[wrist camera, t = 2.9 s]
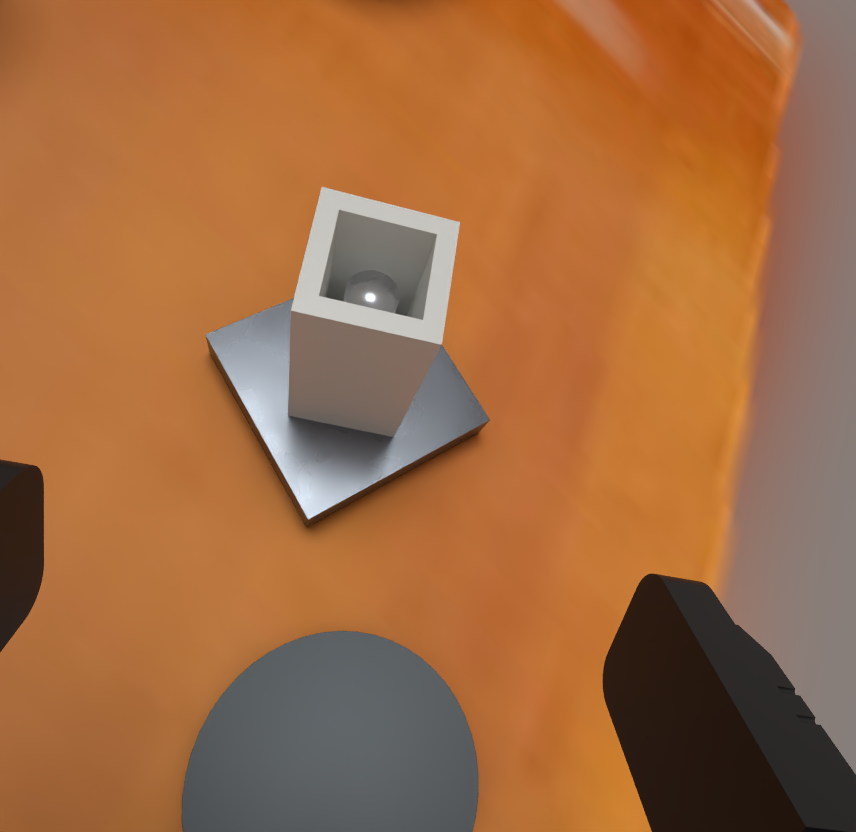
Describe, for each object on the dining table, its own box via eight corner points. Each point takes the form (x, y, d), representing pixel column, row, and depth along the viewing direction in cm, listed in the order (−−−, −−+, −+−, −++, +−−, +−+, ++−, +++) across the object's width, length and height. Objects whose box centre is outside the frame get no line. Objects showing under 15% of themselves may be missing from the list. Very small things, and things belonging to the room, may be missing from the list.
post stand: (306, 527, 30) (317, 472, 21) (209, 352, 32) (181, 233, 23) (478, 432, 34) (551, 350, 25) (381, 279, 36) (416, 150, 27)
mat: (272, 1039, 24) (272, 1047, 23) (131, 736, 26) (128, 738, 26) (526, 826, 28) (531, 829, 28) (386, 580, 30) (388, 579, 30)
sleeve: (393, 437, 31) (441, 345, 22) (287, 415, 30) (290, 310, 21) (409, 344, 33) (460, 222, 23) (310, 321, 32) (321, 186, 23)
